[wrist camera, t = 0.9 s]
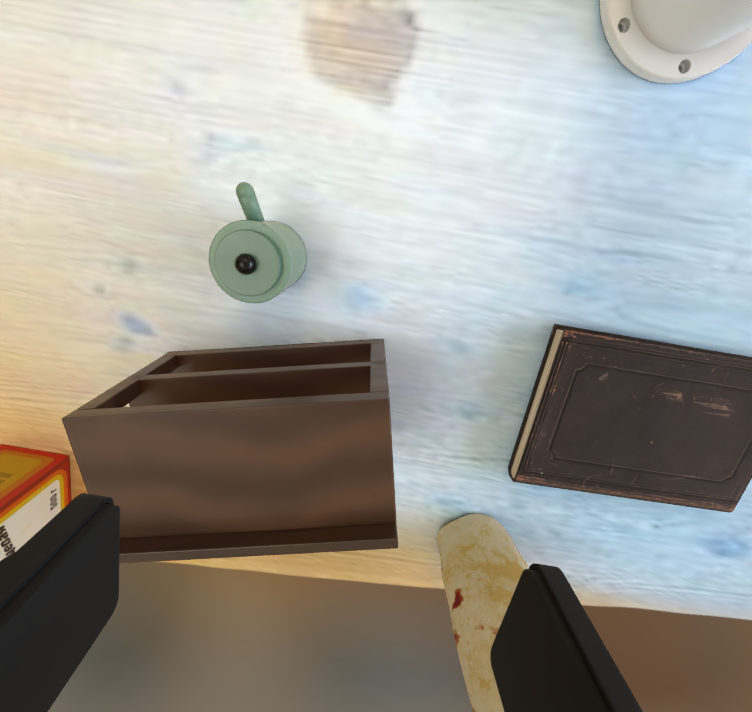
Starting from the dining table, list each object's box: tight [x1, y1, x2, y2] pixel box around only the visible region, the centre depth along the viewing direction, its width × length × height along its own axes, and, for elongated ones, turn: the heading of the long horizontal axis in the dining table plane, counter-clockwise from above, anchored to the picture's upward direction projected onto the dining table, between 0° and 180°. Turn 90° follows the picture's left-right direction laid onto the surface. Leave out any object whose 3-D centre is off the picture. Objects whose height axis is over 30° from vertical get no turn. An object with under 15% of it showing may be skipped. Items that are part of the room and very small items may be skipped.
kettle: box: [209, 182, 307, 303], centre depth 29 cm, size 8×6×9 cm
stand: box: [62, 339, 398, 563], centre depth 31 cm, size 10×20×15 cm, turn 94°
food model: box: [436, 514, 529, 712], centre depth 34 cm, size 10×7×20 cm
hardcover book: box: [508, 324, 752, 512], centre depth 38 cm, size 16×23×2 cm
